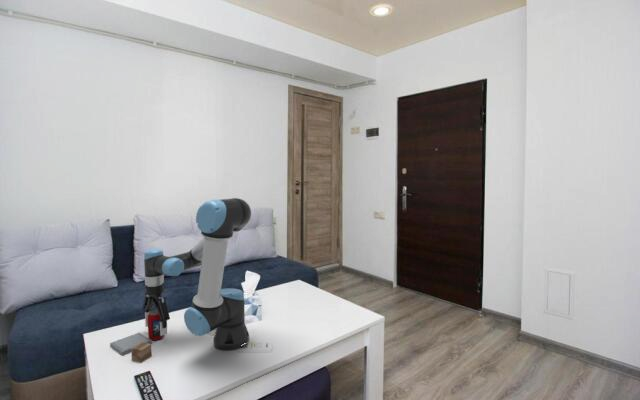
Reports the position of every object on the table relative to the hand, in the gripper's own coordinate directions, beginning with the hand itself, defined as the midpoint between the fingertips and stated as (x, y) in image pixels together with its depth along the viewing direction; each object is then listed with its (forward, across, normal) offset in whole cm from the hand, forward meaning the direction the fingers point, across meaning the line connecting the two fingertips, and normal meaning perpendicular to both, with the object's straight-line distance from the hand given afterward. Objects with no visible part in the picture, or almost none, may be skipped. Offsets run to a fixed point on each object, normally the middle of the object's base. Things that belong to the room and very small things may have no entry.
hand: (156, 330), depth 150 cm
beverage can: (+4, 0, 0) cm, 4 cm away
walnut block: (+3, -12, +12) cm, 17 cm away
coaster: (+3, +2, +10) cm, 11 cm away
